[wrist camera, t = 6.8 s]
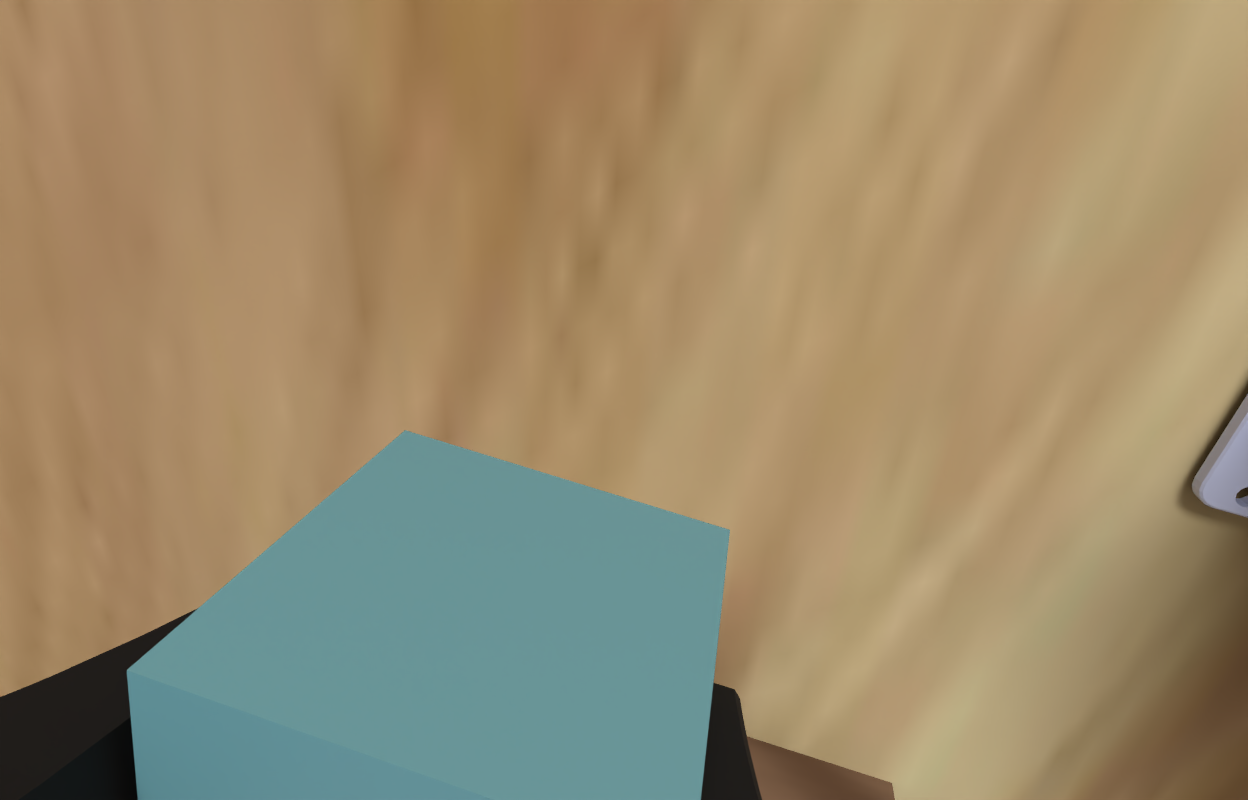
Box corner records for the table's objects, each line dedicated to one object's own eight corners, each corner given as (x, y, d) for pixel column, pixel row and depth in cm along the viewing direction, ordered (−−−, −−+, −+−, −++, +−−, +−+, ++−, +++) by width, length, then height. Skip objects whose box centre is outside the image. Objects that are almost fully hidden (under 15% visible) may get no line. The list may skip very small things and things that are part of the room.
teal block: (729, 529, 10) (692, 869, 6) (647, 766, 12) (571, 1156, 8) (404, 430, 11) (126, 670, 6) (378, 674, 13) (154, 990, 8)
